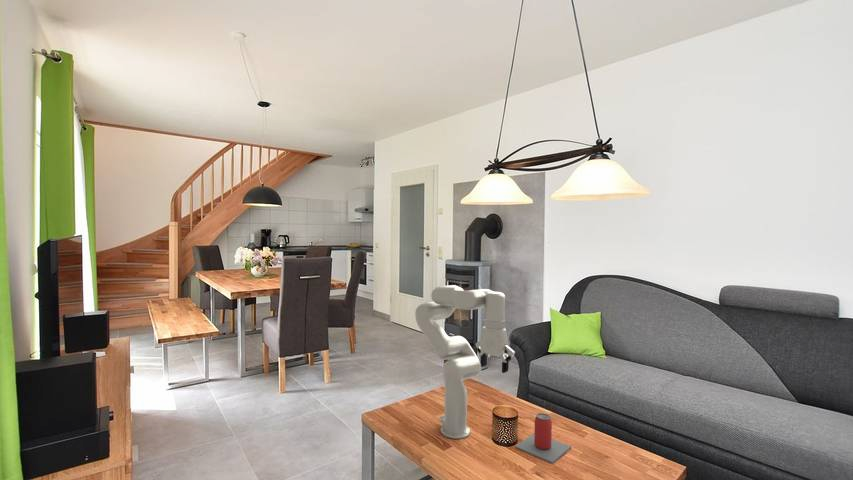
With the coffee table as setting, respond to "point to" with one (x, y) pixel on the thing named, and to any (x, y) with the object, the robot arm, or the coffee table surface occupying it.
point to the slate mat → (547, 455)
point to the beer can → (543, 431)
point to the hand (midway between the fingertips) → (494, 369)
